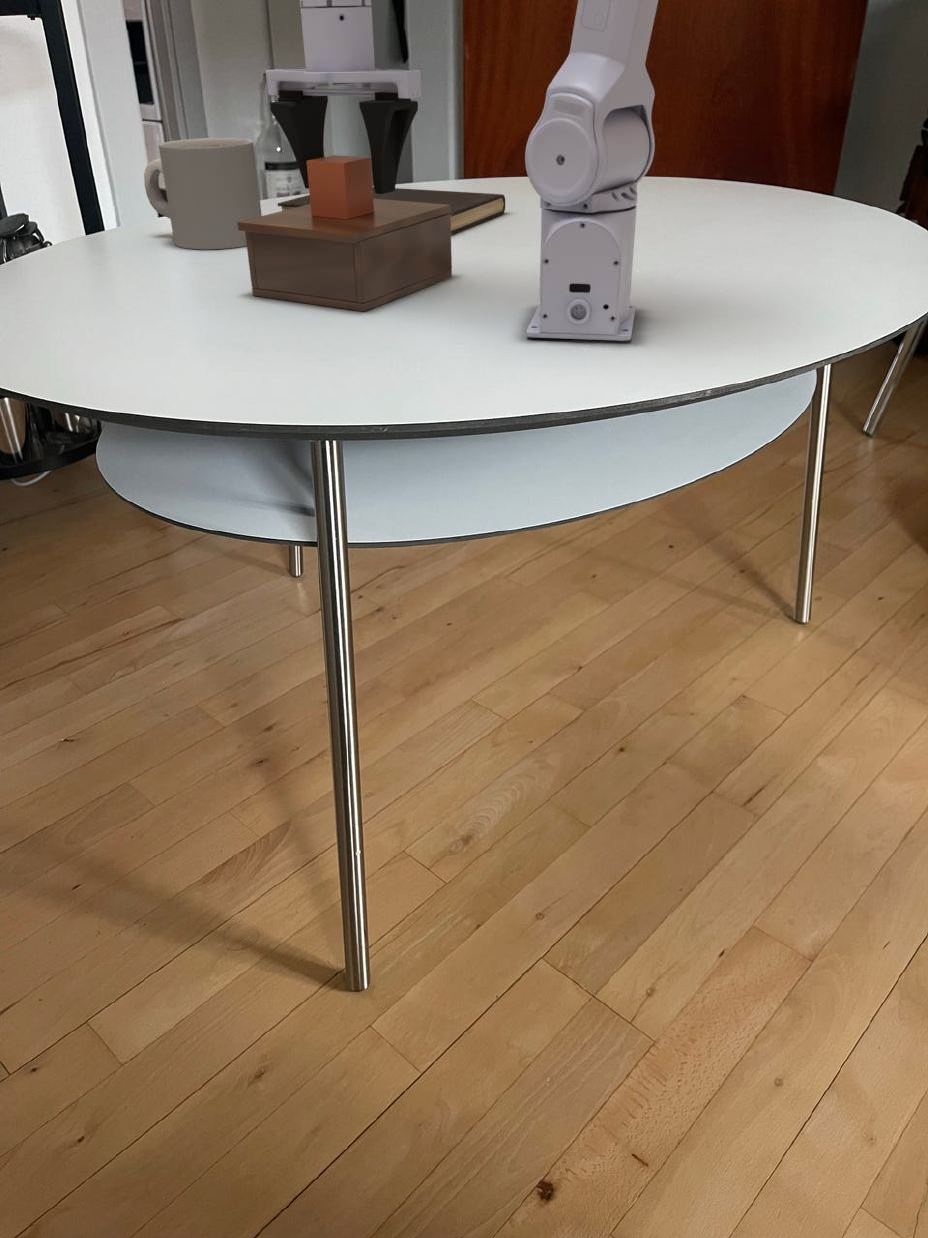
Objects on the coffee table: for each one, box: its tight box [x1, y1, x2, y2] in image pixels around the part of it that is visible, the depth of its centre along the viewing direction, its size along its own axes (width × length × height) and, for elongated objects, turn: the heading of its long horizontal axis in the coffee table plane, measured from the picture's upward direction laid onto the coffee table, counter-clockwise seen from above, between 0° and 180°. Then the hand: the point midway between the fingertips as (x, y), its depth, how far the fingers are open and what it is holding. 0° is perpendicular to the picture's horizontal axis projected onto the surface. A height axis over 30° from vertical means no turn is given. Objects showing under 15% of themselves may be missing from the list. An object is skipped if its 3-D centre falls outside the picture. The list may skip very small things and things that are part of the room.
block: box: [307, 154, 374, 220], centre depth 87 cm, size 4×4×4 cm
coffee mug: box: [143, 137, 263, 250], centre depth 110 cm, size 13×10×10 cm
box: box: [245, 213, 453, 312], centre depth 90 cm, size 14×12×6 cm
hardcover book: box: [277, 186, 506, 236], centre depth 121 cm, size 16×23×2 cm
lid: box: [237, 199, 451, 243], centre depth 88 cm, size 15×12×1 cm
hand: (349, 189), depth 87 cm, fingers open, 7 cm apart
